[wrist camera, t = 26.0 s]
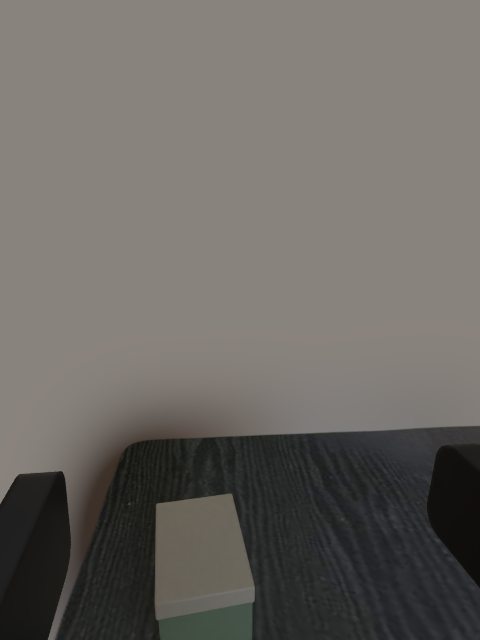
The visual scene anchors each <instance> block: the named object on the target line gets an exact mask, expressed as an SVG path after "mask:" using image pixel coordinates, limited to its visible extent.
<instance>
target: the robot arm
mask: <svg viewBox="0 0 480 640" xmlns="http://www.w3.org/2000/svg"><path fill="white" fill-rule="evenodd" d="M427 511H428V517H429V520H430V523H431V526H432V528H433V530H434V531H435V533H436V534H437V536H438V537H439V538H440V539H441V541H442V542H443V543H444V544H445V546H446V547H447V548H448V549H449V550H450V552H451V553H452V554H453V555H454V557H455V558H456V559H457V560H458V562H459V563H460V564H461V565H462V566H463V568H464V569H465V570H466V571H467V573H468V574H469V575H470V576H471V578H472V579H473V580H474V581H475V583H476V584H477V585H478V586H479V587H480V445H479V444H461V445H446V446H442V447H441V448H440V449H439V450H438V452H437V454H436V459H435V464H434V470H433V475H432V480H431V486H430V491H429V496H428V502H427ZM70 548H71V537H70V525H69V514H68V504H67V493H66V483H65V477H64V474H63V472H62V471H59V472H47V473H46V472H45V473H30V474H20V475H18V476H17V477H16V478H15V480H14V482H13V483H12V485H11V487H10V489H9V490H8V492H7V494H6V495H5V497H4V499H3V501H2V502H1V504H0V640H48V637H49V633H50V630H51V626H52V622H53V620H54V616H55V613H56V609H57V606H58V602H59V599H60V595H61V592H62V588H63V585H64V581H65V578H66V574H67V570H68V565H69V559H70Z"/></svg>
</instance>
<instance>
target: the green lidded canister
mask: <svg viewBox="0 0 480 640" xmlns="http://www.w3.org/2000/svg"><path fill="white" fill-rule="evenodd" d="M254 601H255V586H254V582H253V578H252V574H251V570H250V565H249V561H248V557H247V553H246V549H245V545H244V541H243V537H242V533H241V529H240V525H239V521H238V517H237V513H236V509H235V505H234V501H233V497H232V494H225V495H217V496H210V497H203V498H196V499H188V500H181V501H174V502H166V503H159V504H157V505H156V548H155V615H156V620H158V623H159V635H160V640H252V602H254Z"/></svg>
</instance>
